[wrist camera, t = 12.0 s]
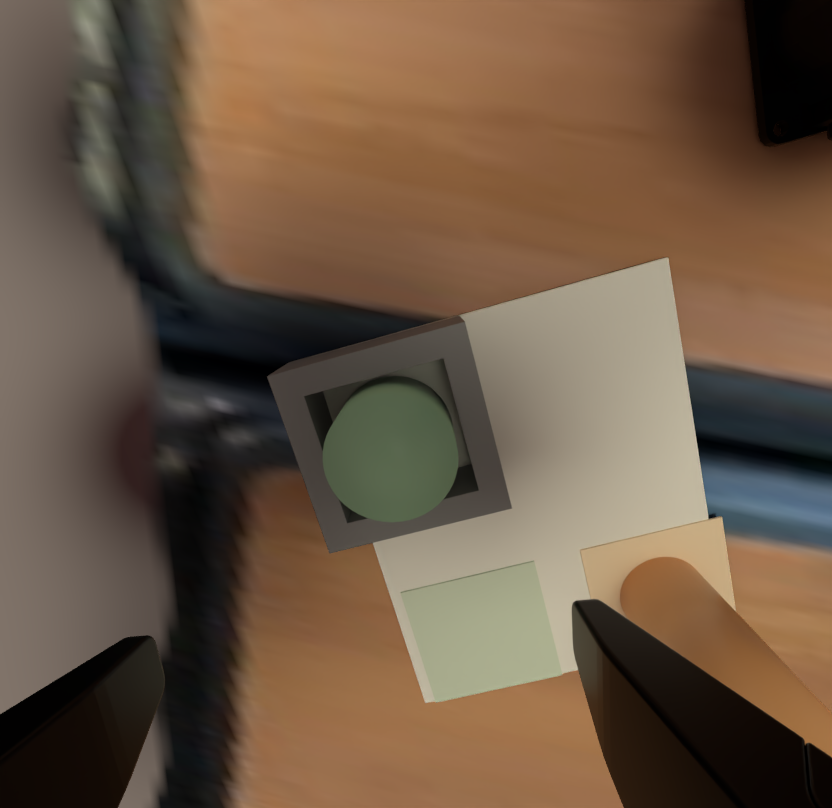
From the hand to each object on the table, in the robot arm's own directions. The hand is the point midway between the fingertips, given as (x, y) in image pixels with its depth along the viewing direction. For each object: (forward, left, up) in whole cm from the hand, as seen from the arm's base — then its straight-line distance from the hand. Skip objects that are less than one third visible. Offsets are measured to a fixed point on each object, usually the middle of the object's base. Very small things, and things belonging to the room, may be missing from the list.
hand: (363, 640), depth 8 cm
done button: (0, 0, -11) cm, 11 cm away
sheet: (+5, +4, -13) cm, 15 cm away
